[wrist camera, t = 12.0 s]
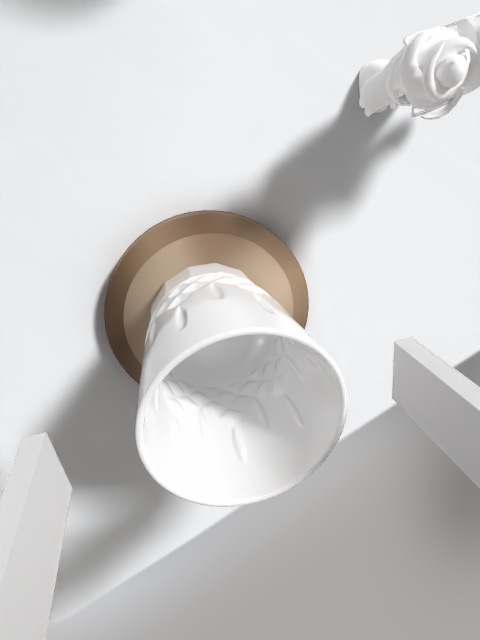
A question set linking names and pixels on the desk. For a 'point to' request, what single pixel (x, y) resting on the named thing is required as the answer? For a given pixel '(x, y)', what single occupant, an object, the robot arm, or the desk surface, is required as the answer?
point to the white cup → (232, 392)
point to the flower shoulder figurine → (425, 71)
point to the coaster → (191, 250)
